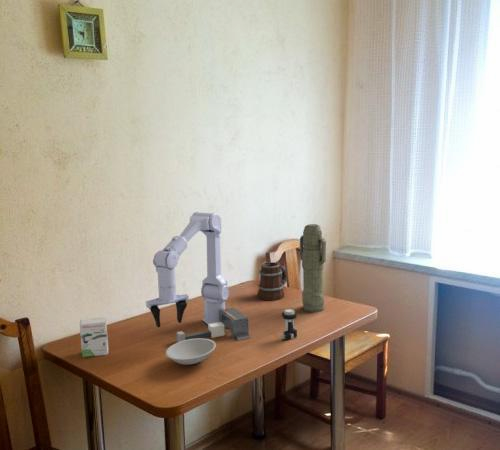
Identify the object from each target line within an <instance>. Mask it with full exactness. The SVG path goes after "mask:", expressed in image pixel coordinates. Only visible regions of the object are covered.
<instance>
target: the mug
mask: <svg viewBox="0 0 500 450" xmlns="http://www.w3.org/2000/svg"><path fill="white" fill-rule="evenodd" d="M258 273H259V275H260V277H259V284H257V287H258V291H257V296H258V299H260V300H264V301H278V300H281V299H283V298H285V292H284V288H285V286H284V285H285V284H286V283H287V281H288V277H287V269H286V266H284V265H283V266H282V265H280V263H279V262H272V261H270V262H269V261H267V262H263V263H261V266H260V270H259V271H258Z"/></svg>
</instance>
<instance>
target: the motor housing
mask: <svg viewBox="0 0 500 450" xmlns="http://www.w3.org/2000/svg"><path fill="white" fill-rule="evenodd" d="M219 322H221V323H223V324H224V330H227V329H230V337H231V338H232V339H235V340H236V341H242V340H246V339H250V338H251V336H252V335H251V334H250V331H249V329H250V328H249V317H248V316H247V315H246V314H244V313H242V312H241V311H239V310H238V309H236V308H235V307H228V308H225V309H220V310H219Z"/></svg>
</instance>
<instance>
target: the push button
mask: <svg viewBox="0 0 500 450" xmlns="http://www.w3.org/2000/svg"><path fill="white" fill-rule="evenodd" d="M281 316H282V319H284V331H283V332H282V335H281V336H280V337H281V338H280V339H281V340H286V341H287V340H290V339H291V340H292V339H294V338H297V337H298V330H297V329H296V328H295V319H297V316H298V314H297V311H295V310H294V309H292V308H287V309H284V311H282V312H281Z"/></svg>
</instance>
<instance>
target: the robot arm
mask: <svg viewBox="0 0 500 450" xmlns="http://www.w3.org/2000/svg"><path fill="white" fill-rule="evenodd" d="M199 232H201V233H202V234H204V235H205V237H206V271H207V276H206V277H204V279H203V280H202V285H201V287H200V293H201V297H202V298H203V299H204V302H203V318H201V319H202V321H203V322H204V323H205V324H207V325H208V324H212V323H217V322H219V310H220V309H226V301H227V299H228V297H229V295H230V289H229V286H228V280H227V279H226V278H225V277H223V275H222V253H221V251H222V249H221V248H222V247H221V246H222V245H221V243H222V242H221V240H222V237H221V233H222V217H221V216H220V215H219V214H218V213H217V212H198V211H195V212H193V214H192V215H191V216H190V217H189V222H188V224H187V225H186V227H185V228H184V229H183V231H182V232H181V234H180V235H179V236H178V235H175V236H172V238H171V240H170V241H169V242H168V244H166V245H165V247H163V249H161V250H158V251H157V252H155V254H154V256H153V259H152V263H153V265H154V267H155V272H156V273H157V282H158V297H157V298H153V299H150V300H146V301H145V306H146V308H147V309H149V310H150V312H151V314H152V316H153V318H154V319H153V320H154V321H155V326H156V327H158V328H161V319H160V318H161V317H160V315H161V309H160V308H159V307H160V306H164V305H169V304H174V303H175V308H176V319H177V323H179V324H180V323H182V320H183V316H184V314H185V310H186V308H187V306H188V302H189V301H190V300H189V295H188V294H186V293H185V294H177V293H176V291H177V290H176V273H175V272H176V271H175V268H176V267H177V266H178V262H179V260H180V256H181V255H182V254H183V252H185V250H186V249H188V242H190V240H191V239H192V238H193V237H194V236H195V235H196V234H197V233H199Z"/></svg>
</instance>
